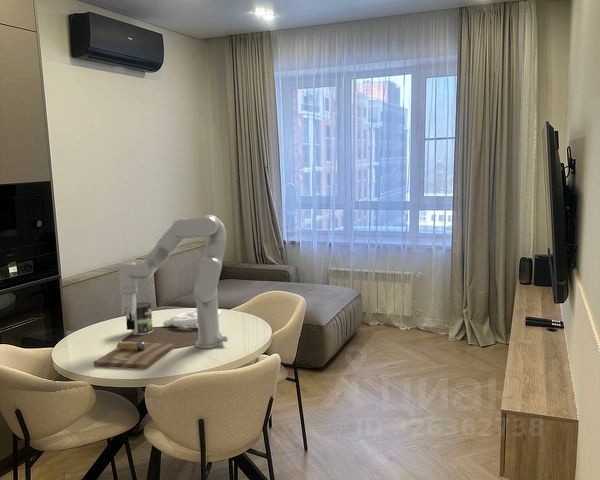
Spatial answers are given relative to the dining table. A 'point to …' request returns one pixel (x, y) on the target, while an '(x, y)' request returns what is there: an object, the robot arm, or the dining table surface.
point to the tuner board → (135, 356)
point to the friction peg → (132, 345)
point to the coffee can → (143, 319)
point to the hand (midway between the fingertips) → (130, 329)
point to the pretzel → (184, 319)
